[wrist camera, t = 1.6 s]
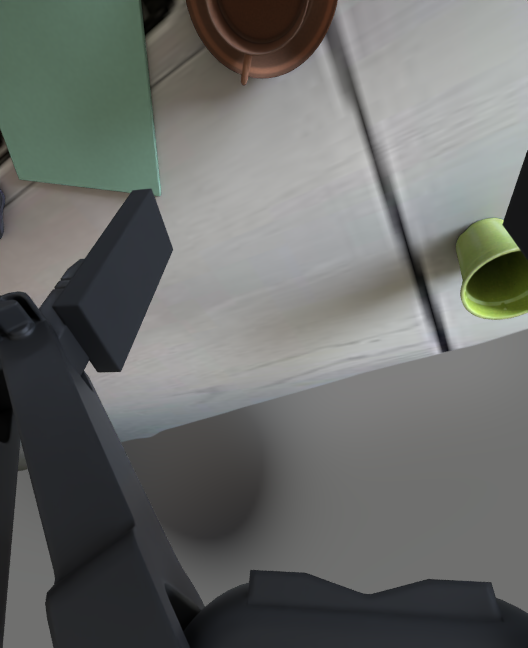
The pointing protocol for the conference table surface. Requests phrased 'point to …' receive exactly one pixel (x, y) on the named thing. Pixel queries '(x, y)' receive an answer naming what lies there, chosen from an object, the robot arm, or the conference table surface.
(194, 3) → the cup and saucer
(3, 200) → the computer mouse
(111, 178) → the mat
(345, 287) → the conference table surface
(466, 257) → the plant pot
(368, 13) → the conference table surface
